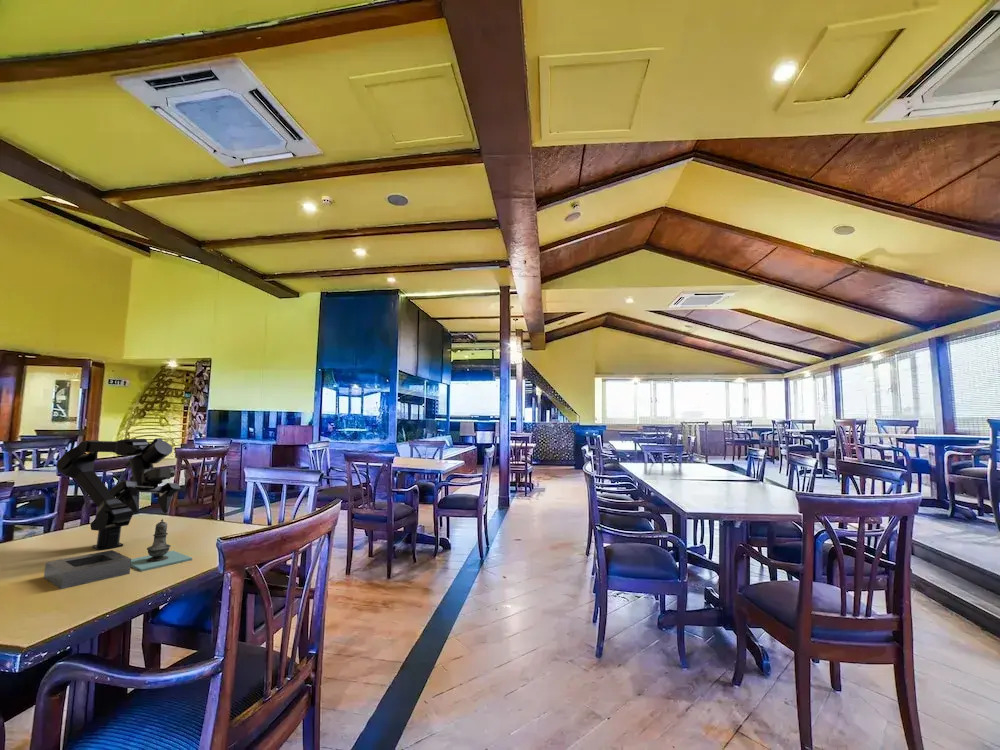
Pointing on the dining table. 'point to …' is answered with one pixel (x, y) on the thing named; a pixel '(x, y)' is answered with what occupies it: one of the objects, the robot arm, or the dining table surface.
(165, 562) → the teal mat
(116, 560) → the square socket
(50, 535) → the dining table surface
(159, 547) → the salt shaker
